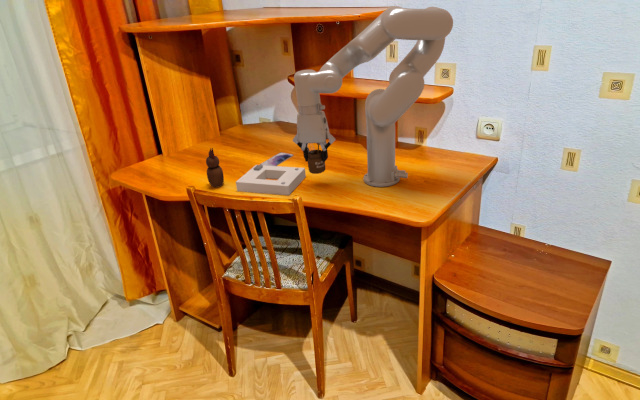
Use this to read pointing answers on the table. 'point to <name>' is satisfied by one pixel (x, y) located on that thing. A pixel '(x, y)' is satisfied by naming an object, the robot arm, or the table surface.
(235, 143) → the table surface
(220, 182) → the wooden figurine
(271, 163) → the smartphone
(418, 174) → the table surface
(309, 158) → the utensil holder
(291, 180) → the socket block
